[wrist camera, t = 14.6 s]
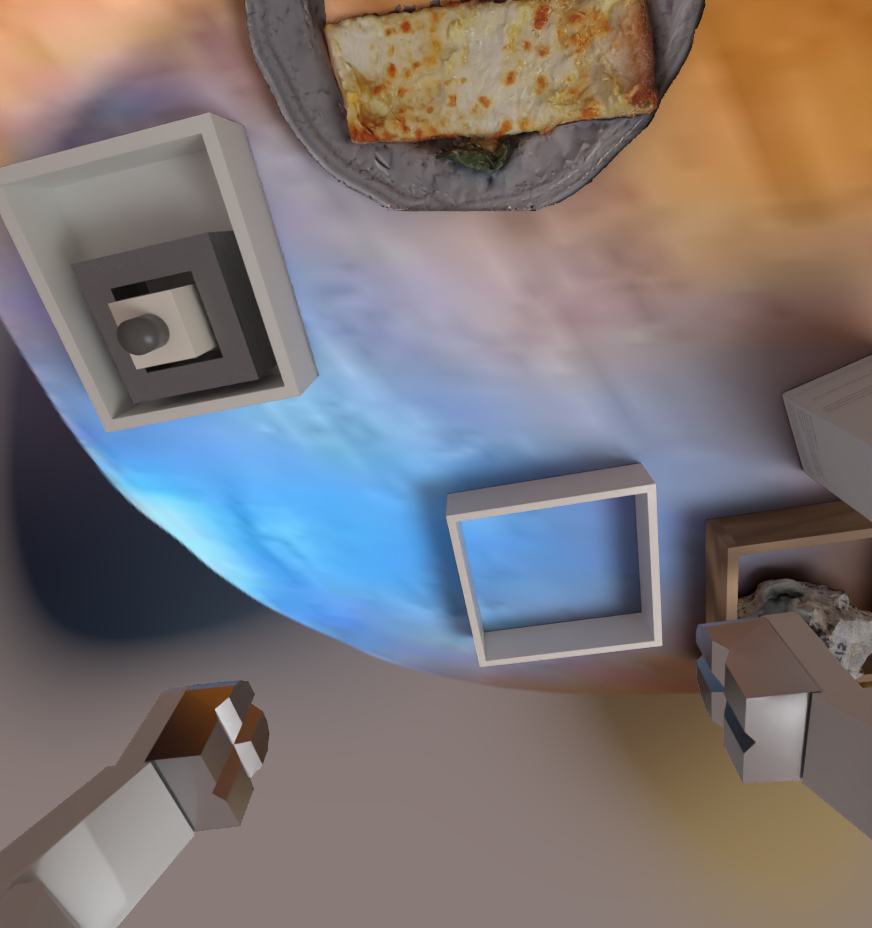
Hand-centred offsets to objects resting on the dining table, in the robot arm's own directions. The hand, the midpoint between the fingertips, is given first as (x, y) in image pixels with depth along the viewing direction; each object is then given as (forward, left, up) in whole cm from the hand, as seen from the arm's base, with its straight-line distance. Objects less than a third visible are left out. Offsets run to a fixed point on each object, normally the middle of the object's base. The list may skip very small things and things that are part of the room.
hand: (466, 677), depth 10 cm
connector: (-5, -18, -30) cm, 36 cm away
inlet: (-5, -18, -31) cm, 36 cm away
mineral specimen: (+29, +23, -31) cm, 48 cm away
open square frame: (+20, +4, -31) cm, 37 cm away
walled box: (-7, -18, -31) cm, 37 cm away
